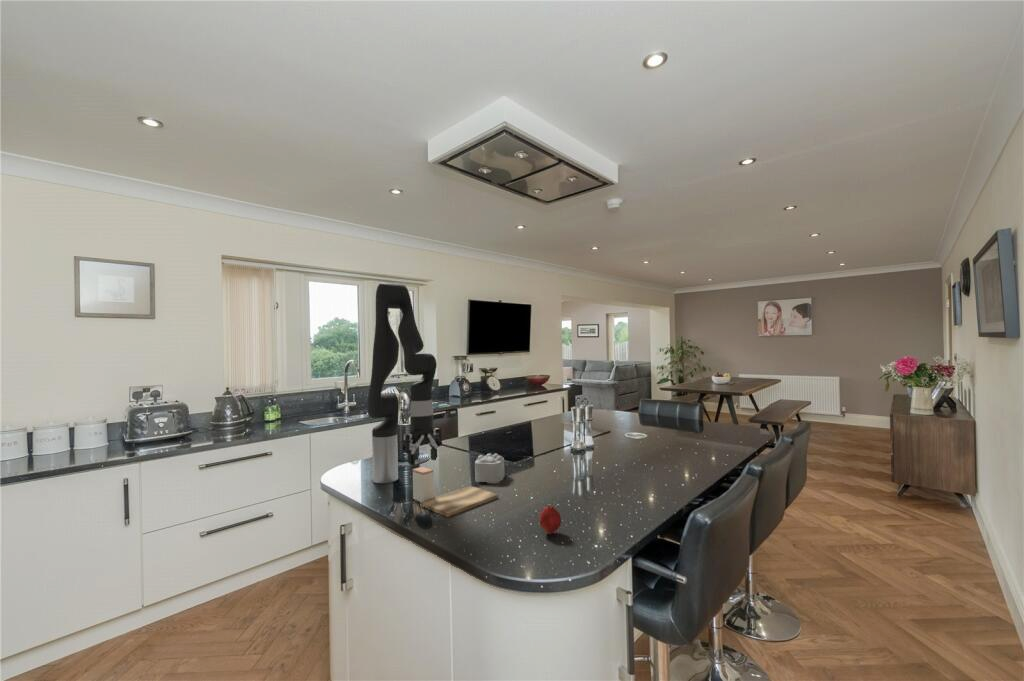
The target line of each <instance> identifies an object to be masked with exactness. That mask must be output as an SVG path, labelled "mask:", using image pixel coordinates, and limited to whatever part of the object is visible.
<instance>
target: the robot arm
mask: <svg viewBox="0 0 1024 681" xmlns="http://www.w3.org/2000/svg"><path fill="white" fill-rule="evenodd" d="M410 295H411V294H410V292H409V289H408V287H407V286H406V285H404V284H401V283H391V282H380V283H379V284H378V285H377V288H376V290H375V327H374V338H373V346H372V361H371V362H372V363H371V364H372V366H371V374H370V375H371V378H370V384H369V389H368V395H367V402H366V403H367V404H366V409H367V415H368V417H369V418H371V419H381V418H384V420H383V421H381V423H380V424H378V425H376V426H374V427H373V428H372V430H371V434H372V435H371V437H372V438H371V439H372V442H371V444H372V455H371V468H372V470H371V472H372V473H371V474H372V476H371V477H372V481H373V483H376V484H389V483H393V482H396V481H397V480H398V479H399V464H398V462H399V459H398V458H399V457H398V454H399V453H398V428H399V408H400V404H399V398H398V396H397V394H396V393H395V392H383V387H384V384H385V382H386V380H387V379H388V377H389V376H390V374H391V373H392V371H393V370H394V369H395V367H396V366H397V364H398V361H399V352H400V344H401V347H402V351H403V368H404V371H405V372H406V373H407V374H408V375H410V376H422V377H421V378H420V380H418V381H416V382H413V383H411V385H410V388H409V390H410V393H409V394H410V403H409V405H410V406H409V412H410V413H409V416H410V418H409V419H410V423H409V424H410V430H411V431H410V433H408V434H407V433H402V438H401V439H402V441H401V442H402V444H401V452H402V453H404V454H407V463H408V465H409V466H412V467H414V466H416V458H415V457H416V454H415V452H416V451H417V449H418V448H419V447H420V446H423V445H429V447H430V460H431V461H436V460H437V458H438V448H440V447H442V446H443V439H442V436H443V435H442V429H441V428H440V427H435V428H434V426H435V425H434V423H435V422H434V402H433V384H434V378H435V375H436V371H437V359H436V357H435V356H434V355H433V354H432V353H420V352H421V351H422V350H423V349H424V345H425V344H424V341H423V339H422V336H421V334H420V332H419V329H418V327H417V323H416V319H415V314H414V309H413V304H412V299H411V296H410ZM389 309H391V310H392V309H395V310H400V311H401V312H400V313H401V315H402V316H401V319H400V322H399V324H398V327H397V328H398V329H397V335H398V338H397V336H396V334H395V332H394V330H393V328H392V326H391V324H390V321H389ZM398 339H399V340H398ZM399 341H400V342H399ZM433 437H434V438H433Z"/></svg>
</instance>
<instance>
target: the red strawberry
mask: <svg viewBox="0 0 1024 681" xmlns="http://www.w3.org/2000/svg"><path fill="white" fill-rule="evenodd" d="M539 514H540V515H539V517H538V522H539V525H540V528H541V529H542V530H544V531H545V532H546V533H547V534H548V535H553V534H554V533H555V532H556V531H557V530H558V529H559V528H560V526H561V525H562V523H561V522H562V518H561V515H560V512H559V511H558V510H557V508H555V507H553V505H552V504H551V503H549V504H548V505H547V506H546V507H545V508H543V510H542V511H541V512H540V513H539Z"/></svg>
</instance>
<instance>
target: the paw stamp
mask: <svg viewBox="0 0 1024 681" xmlns="http://www.w3.org/2000/svg"><path fill="white" fill-rule="evenodd" d="M503 478H504V479H505V458H504V457H503V456H502V455H499V454H498V453H494V454H492V453H491V452H489V453H487V454H486V455H483V454H479V455H478V457H477V458H476V460H475V461H474V479H475V480H474V481H475V482H476V483H479V482H487V484H499V483H501V482H502V481H503V480H504V479H503ZM501 480H502V481H501ZM500 481H501V482H500Z"/></svg>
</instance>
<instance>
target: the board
mask: <svg viewBox="0 0 1024 681" xmlns="http://www.w3.org/2000/svg"><path fill="white" fill-rule="evenodd" d="M498 498H499V494H497V493H494V492H491V491H488V490H485V489H482V488H479V487H476V486H471V485H468V486H466V487H462V488H459V489H456V490H453V491H450V492H447V493H444V494H441V495H437V496H434V498H431V499H428V500H425V501H422V502H419V503H420V504H419V506H420V507H422V508H424V507H425V508H424V509H426V508H427V509H426V510H429V511H431V510H432V511H431V512H434V513H436V514H438V513H439V514H438V515H441V516H443V517H446V518H449V517H452V515H453V516H455V515H458V514H460V513H463V512H465V511H469V510H470V509H474V508H476V507H478V505H479V506H481V505H484V504H485V503H486V504H487V503H490V502H491V500H492V501H494V500H497V499H498ZM483 503H484V504H483Z"/></svg>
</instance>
